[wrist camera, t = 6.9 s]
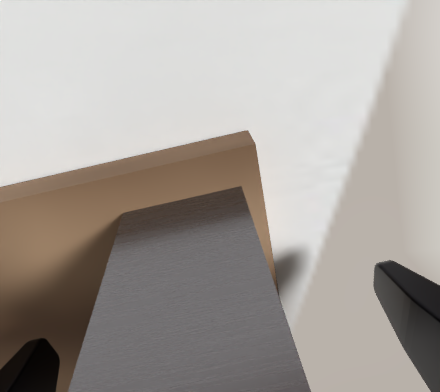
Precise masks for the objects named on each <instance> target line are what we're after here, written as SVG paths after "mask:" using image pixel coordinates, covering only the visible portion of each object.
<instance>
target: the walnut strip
mask: <svg viewBox="0 0 440 392" xmlns="http://www.w3.org/2000/svg"><path fill="white" fill-rule="evenodd" d="M39 338H45V339H47V340H48V342H49V343H50V344H51V346H52V347H53V348H54V349H55V351H56V352H57V353H58V355H59V358H60V367H59V374H58V381H57V387H56V392H311V391H310V388H309V385H308V382H307V379H306V376H305V373H304V370H303V367H302V364H301V361H300V358H299V355H298V352H297V349H296V347H295V344H294V340H293V337H292V334H291V331H290V328H289V325H288V323H287V320H286V317H285V314H284V311H283V308H282V305H281V302H280V299H279V293H278V287H277V280H276V274H275V267H274V261H273V254H272V248H271V242H270V235H269V229H268V222H267V216H266V209H265V203H264V196H263V190H262V184H261V177H260V171H259V164H258V158H257V151H256V145H255V142H254V141H253V139H252V137H251V135H250V133H249V132H248V130H247V131H242V132H238V133H234V134H229V135H225V136H221V137H216V138H212V139H208V140H203V141H199V142H195V143H190V144H186V145H182V146H177V147H173V148H169V149H164V150H160V151H156V152H151V153H147V154H143V155H138V156H134V157H130V158H125V159H121V160H117V161H112V162H108V163H104V164H99V165H95V166H91V167H86V168H82V169H78V170H73V171H69V172H65V173H60V174H56V175H52V176H47V177H43V178H39V179H34V180H30V181H26V182H21V183H17V184H12V185H8V186H4V187H0V369H1V368H2V367H3V366H4V365H5V364H6V363H7V362H8V361H9V360H10V359H11V358H12V357H13V356H14V355H15V354H16V353H17V352H18V351H19V349H20V348H21V347H22V346H23V345H24V344H25V343H27V342H28V341H30V340H34V339H39Z"/></svg>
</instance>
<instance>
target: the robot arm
mask: <svg viewBox="0 0 440 392" xmlns="http://www.w3.org/2000/svg"><path fill="white" fill-rule="evenodd" d="M374 290H375V293H376V295H377V297H378V299H379V301H380V303H381V305H382V307H383V309H384V311H385V313H386V315H387V317H388V319H389V321H390V323H391V325H392V327H393V329H394V331H395V332H396V335H397V337H398V339H399V341H400V342H401V344H402V346H403V348H404V350H405V351H406V353H407V355H408V356H409V358H410V359H411V361H412V362H413V364H414V366H415V367H416V369H417V370H418V372H419V373H420V375H421V377H422V378H423V380H424V381H425V383H426V384H427V386H428V388H429V389H430V391H431V392H440V285H437V284H436V283H434V282H432V281H430V280H428V279H426V278H425V277H423V276H421V275H419V274H417V273H415V272H413V271H411V270H410V269H408V268H405V267H404V266H402V265H400V264H398V263H396V262H394V261H391V260H389V261H384V262H379V263H377V264H376V265H375V269H374ZM59 367H60V358H59V355H58V353H57V352H56V351H55V349H54V348H53V347H52V346H51V344H50V343H49V342H48V340H47V339H45V338H39V339H34V340H30V341H28V342H27V343H25V344H24V345H23V346H22V347H21V348H20V349H19V351H18V352H17V353H16V354H15V355H14V356H13V357H12V358H11V359H10V360H9V361H8V362H7V363H6V364H5V365H4V366H3V367H2V368H1V369H0V392H56V387H57V381H58V374H59Z"/></svg>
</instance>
